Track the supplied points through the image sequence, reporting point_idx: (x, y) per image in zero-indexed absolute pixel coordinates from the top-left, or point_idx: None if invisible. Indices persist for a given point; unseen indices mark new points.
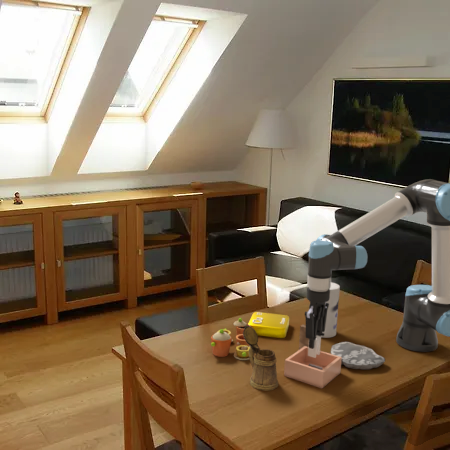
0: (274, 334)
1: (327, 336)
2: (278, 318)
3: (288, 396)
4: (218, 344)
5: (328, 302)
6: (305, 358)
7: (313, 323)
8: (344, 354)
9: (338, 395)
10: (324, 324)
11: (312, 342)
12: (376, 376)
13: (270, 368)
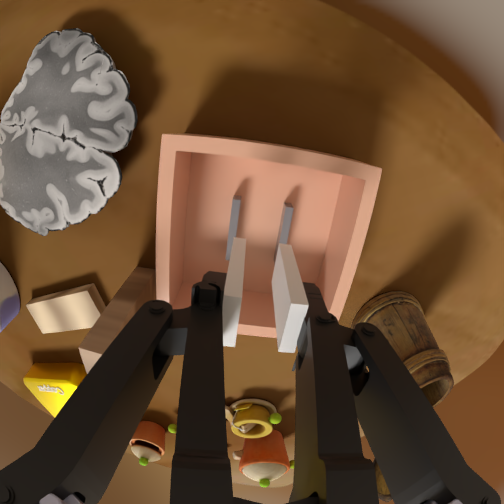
0: None
1: (4, 270)
2: (48, 397)
3: (429, 245)
4: (288, 460)
5: None
6: (180, 286)
7: (425, 435)
8: (70, 166)
9: (365, 95)
10: (138, 345)
11: (326, 311)
12: (139, 21)
13: (437, 345)
